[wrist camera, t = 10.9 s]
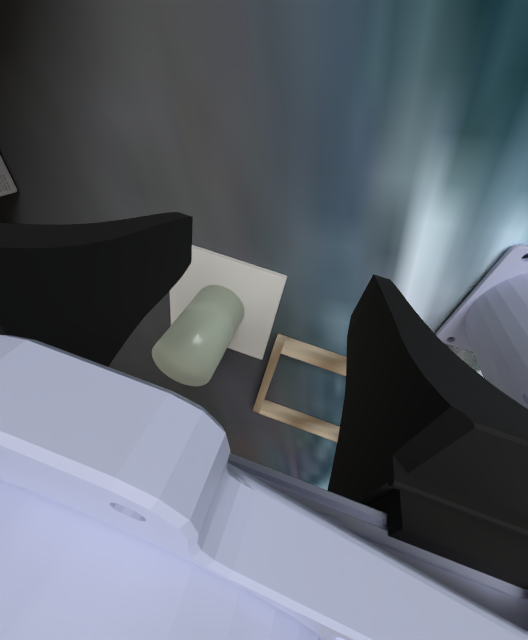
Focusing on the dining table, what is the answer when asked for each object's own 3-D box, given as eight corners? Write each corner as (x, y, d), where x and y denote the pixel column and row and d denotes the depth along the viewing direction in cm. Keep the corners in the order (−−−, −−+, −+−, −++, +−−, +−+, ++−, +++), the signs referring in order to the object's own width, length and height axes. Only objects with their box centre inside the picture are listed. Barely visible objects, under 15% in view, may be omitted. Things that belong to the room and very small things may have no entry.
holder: (401, 375, 25) (402, 389, 24) (350, 434, 33) (349, 446, 32) (278, 333, 26) (274, 344, 25) (256, 400, 34) (252, 410, 33)
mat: (287, 275, 22) (286, 278, 22) (263, 357, 29) (262, 360, 28) (170, 237, 23) (167, 239, 22) (173, 325, 29) (171, 327, 29)
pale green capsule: (238, 344, 28) (208, 405, 22) (195, 329, 28) (155, 385, 23) (248, 294, 24) (213, 354, 18) (197, 278, 24) (149, 332, 19)
